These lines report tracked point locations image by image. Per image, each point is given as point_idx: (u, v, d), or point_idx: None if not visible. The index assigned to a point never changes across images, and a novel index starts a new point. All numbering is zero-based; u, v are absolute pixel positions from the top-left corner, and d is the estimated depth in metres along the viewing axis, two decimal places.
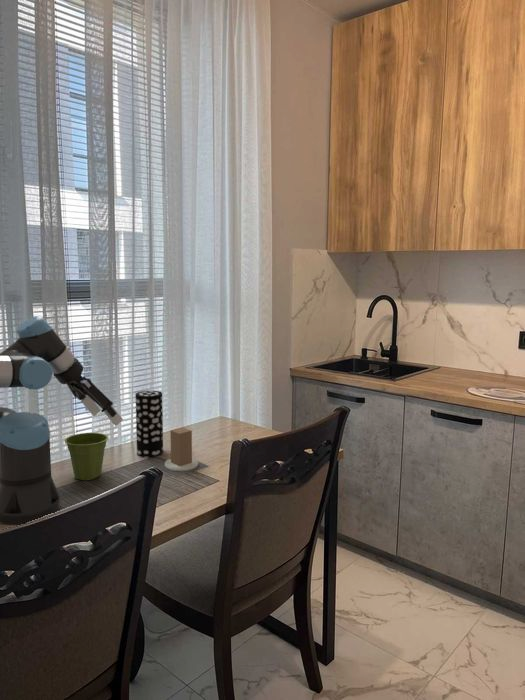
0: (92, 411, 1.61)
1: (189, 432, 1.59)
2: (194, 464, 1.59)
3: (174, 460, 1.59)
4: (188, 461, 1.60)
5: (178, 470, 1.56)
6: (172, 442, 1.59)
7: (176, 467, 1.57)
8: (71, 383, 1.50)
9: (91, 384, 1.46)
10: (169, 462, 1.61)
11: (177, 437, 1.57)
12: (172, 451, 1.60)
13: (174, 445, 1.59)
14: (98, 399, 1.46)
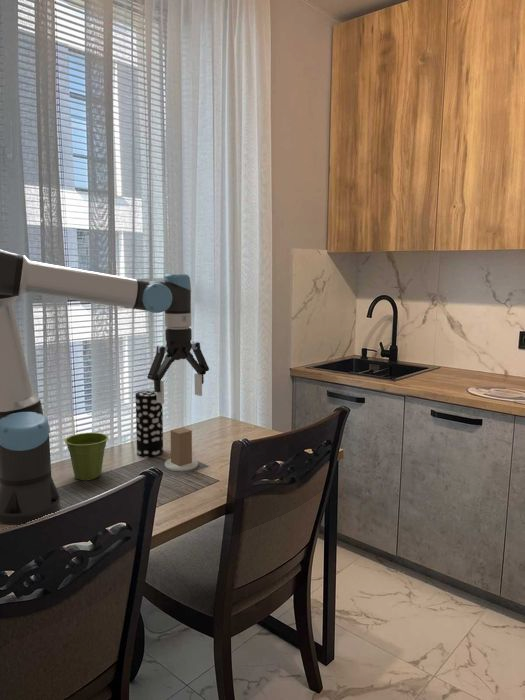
0: (195, 389, 1.63)
1: (189, 432, 1.59)
2: (194, 464, 1.59)
3: (174, 460, 1.59)
4: (188, 461, 1.60)
5: (178, 470, 1.56)
6: (172, 442, 1.59)
7: (176, 467, 1.57)
8: None
9: (160, 352, 1.50)
10: (169, 462, 1.61)
11: (177, 437, 1.57)
12: (172, 451, 1.60)
13: (174, 445, 1.59)
14: (152, 366, 1.51)
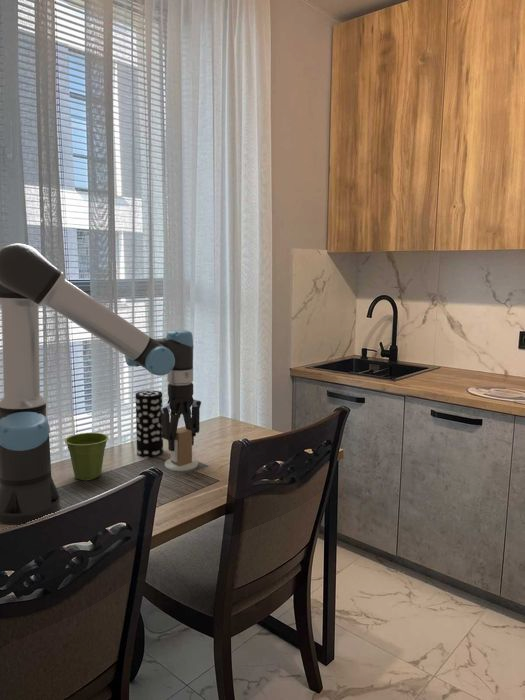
0: None
1: (189, 432, 1.59)
2: (194, 464, 1.59)
3: None
4: (188, 461, 1.60)
5: (178, 470, 1.56)
6: None
7: (176, 467, 1.57)
8: None
9: (164, 413, 1.54)
10: (169, 462, 1.61)
11: (177, 437, 1.57)
12: None
13: None
14: (162, 426, 1.55)
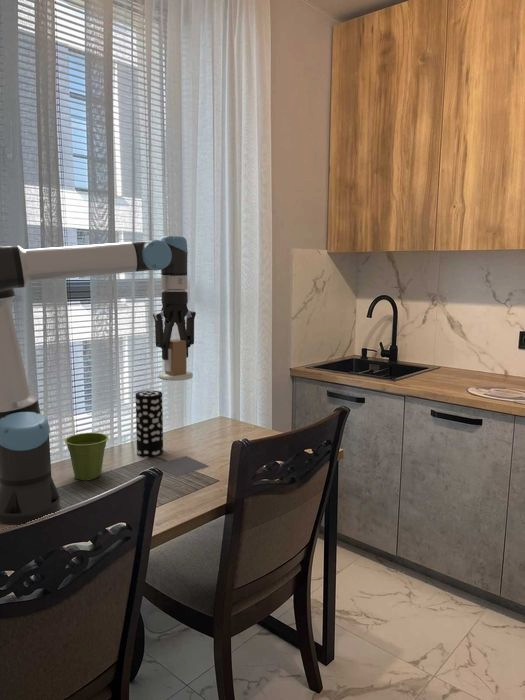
0: None
1: (183, 342, 1.56)
2: (188, 375, 1.57)
3: None
4: (182, 372, 1.57)
5: (172, 379, 1.53)
6: None
7: (170, 376, 1.54)
8: None
9: (157, 320, 1.51)
10: (163, 373, 1.58)
11: (171, 346, 1.54)
12: None
13: None
14: (155, 334, 1.53)
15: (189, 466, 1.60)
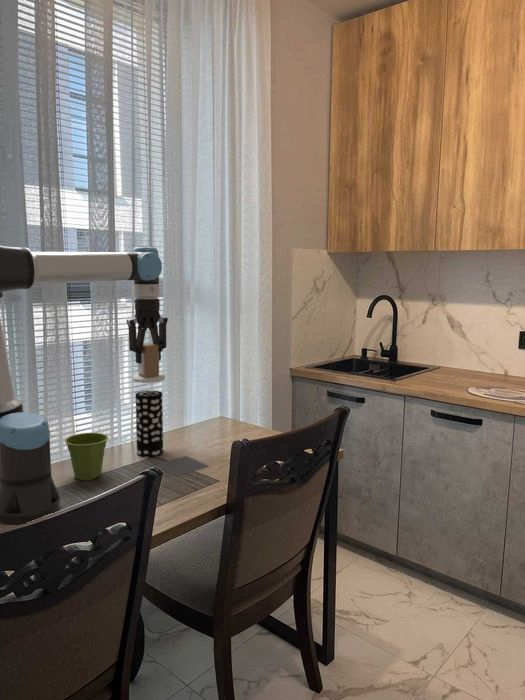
0: None
1: (156, 346, 1.66)
2: (161, 377, 1.66)
3: None
4: (155, 374, 1.67)
5: (145, 381, 1.63)
6: None
7: (143, 378, 1.64)
8: None
9: (131, 326, 1.61)
10: (137, 376, 1.68)
11: (144, 350, 1.64)
12: None
13: None
14: (129, 339, 1.63)
15: (189, 466, 1.60)
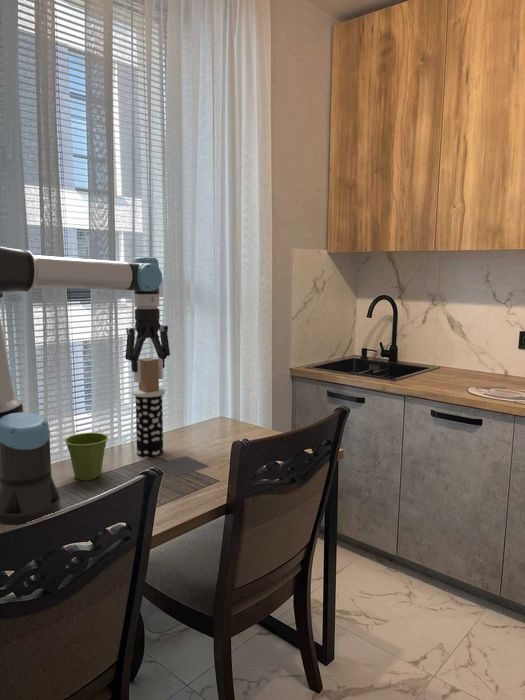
0: None
1: (156, 361, 1.66)
2: (161, 391, 1.67)
3: (142, 388, 1.67)
4: (155, 389, 1.67)
5: (145, 396, 1.64)
6: None
7: (143, 393, 1.64)
8: None
9: (130, 334, 1.61)
10: (137, 390, 1.68)
11: (144, 365, 1.65)
12: None
13: (141, 373, 1.66)
14: (126, 347, 1.62)
15: (189, 466, 1.60)
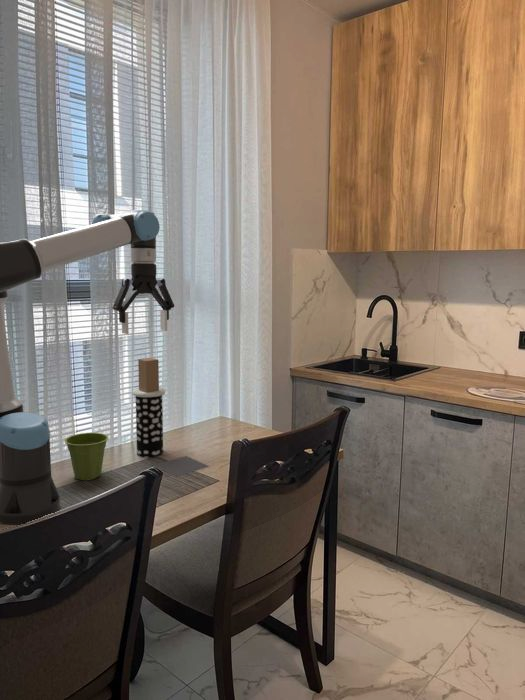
0: (161, 325, 1.70)
1: (156, 361, 1.66)
2: (161, 391, 1.67)
3: (142, 388, 1.67)
4: (155, 389, 1.67)
5: (145, 396, 1.64)
6: (140, 370, 1.67)
7: (143, 393, 1.64)
8: None
9: (124, 284, 1.58)
10: (137, 390, 1.68)
11: (144, 365, 1.65)
12: (140, 379, 1.67)
13: (141, 373, 1.66)
14: (117, 297, 1.59)
15: (189, 466, 1.60)
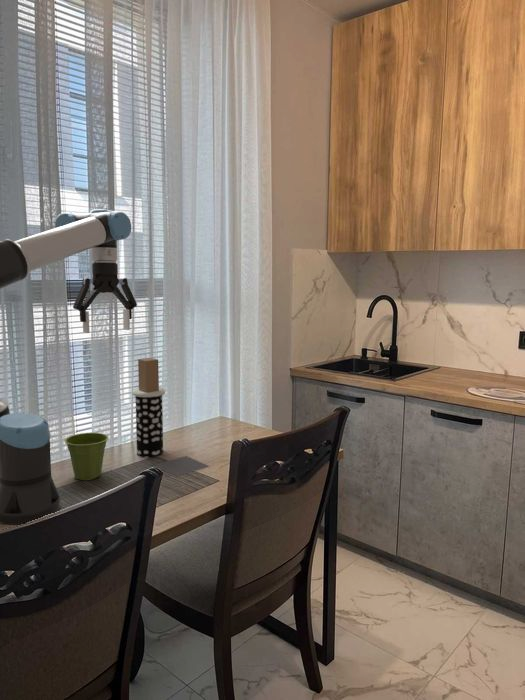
0: (124, 324, 1.71)
1: (156, 361, 1.66)
2: (161, 391, 1.67)
3: (141, 388, 1.67)
4: (155, 389, 1.67)
5: (145, 396, 1.64)
6: (139, 370, 1.67)
7: (143, 393, 1.64)
8: None
9: (85, 283, 1.59)
10: (137, 390, 1.68)
11: (144, 365, 1.65)
12: (140, 379, 1.67)
13: (141, 373, 1.66)
14: (77, 296, 1.59)
15: (189, 466, 1.60)
